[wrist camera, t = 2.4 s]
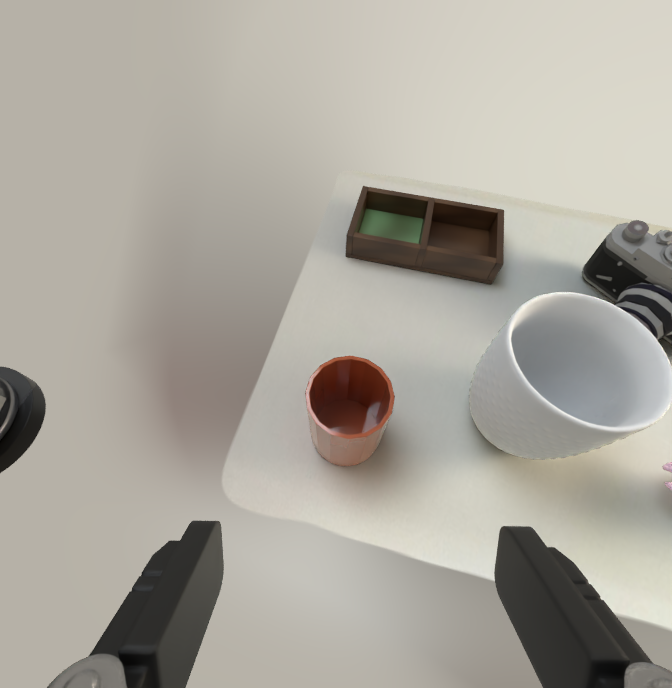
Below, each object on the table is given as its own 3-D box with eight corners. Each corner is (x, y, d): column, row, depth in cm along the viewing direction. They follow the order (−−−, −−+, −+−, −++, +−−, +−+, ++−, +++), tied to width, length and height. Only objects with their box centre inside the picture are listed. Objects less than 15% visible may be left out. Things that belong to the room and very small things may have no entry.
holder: (345, 256, 47) (346, 235, 44) (361, 208, 51) (362, 185, 48) (491, 284, 45) (503, 264, 42) (493, 231, 49) (504, 209, 46)
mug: (530, 334, 41) (605, 250, 30) (614, 413, 36) (742, 348, 25) (428, 402, 37) (472, 332, 25) (510, 501, 32) (607, 469, 21)
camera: (542, 299, 45) (572, 253, 36) (593, 258, 46) (636, 202, 37) (660, 396, 39) (733, 368, 30) (719, 347, 39) (808, 305, 30)
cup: (303, 456, 34) (294, 425, 26) (321, 392, 37) (319, 348, 29) (372, 474, 33) (385, 448, 25) (385, 407, 36) (400, 366, 29)
